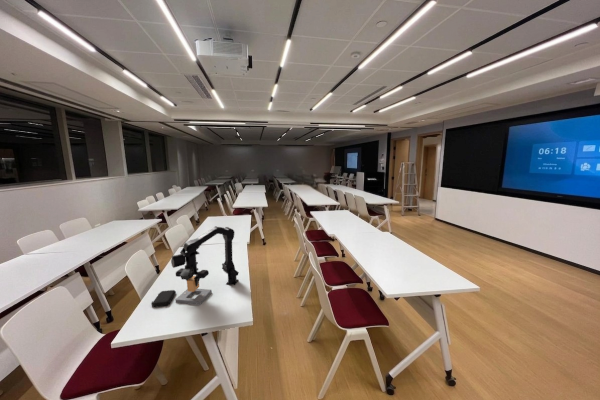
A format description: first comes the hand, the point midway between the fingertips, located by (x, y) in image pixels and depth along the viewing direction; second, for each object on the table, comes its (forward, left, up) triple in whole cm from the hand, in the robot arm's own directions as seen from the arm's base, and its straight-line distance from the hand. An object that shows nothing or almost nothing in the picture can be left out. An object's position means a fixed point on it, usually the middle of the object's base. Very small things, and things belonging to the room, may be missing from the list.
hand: (193, 285), depth 146 cm
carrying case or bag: (+5, -17, -8) cm, 20 cm away
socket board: (0, 0, -8) cm, 8 cm away
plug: (0, 0, -2) cm, 2 cm away
